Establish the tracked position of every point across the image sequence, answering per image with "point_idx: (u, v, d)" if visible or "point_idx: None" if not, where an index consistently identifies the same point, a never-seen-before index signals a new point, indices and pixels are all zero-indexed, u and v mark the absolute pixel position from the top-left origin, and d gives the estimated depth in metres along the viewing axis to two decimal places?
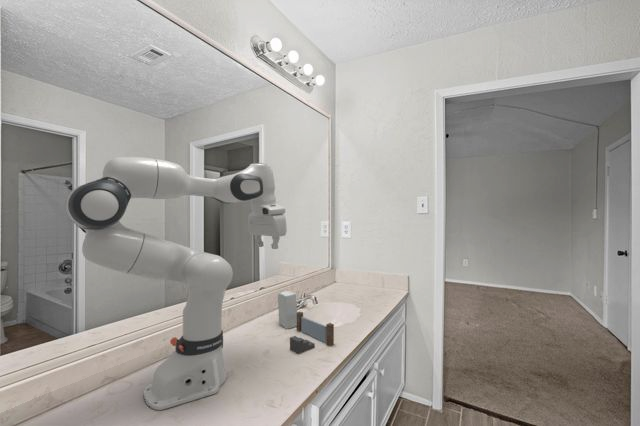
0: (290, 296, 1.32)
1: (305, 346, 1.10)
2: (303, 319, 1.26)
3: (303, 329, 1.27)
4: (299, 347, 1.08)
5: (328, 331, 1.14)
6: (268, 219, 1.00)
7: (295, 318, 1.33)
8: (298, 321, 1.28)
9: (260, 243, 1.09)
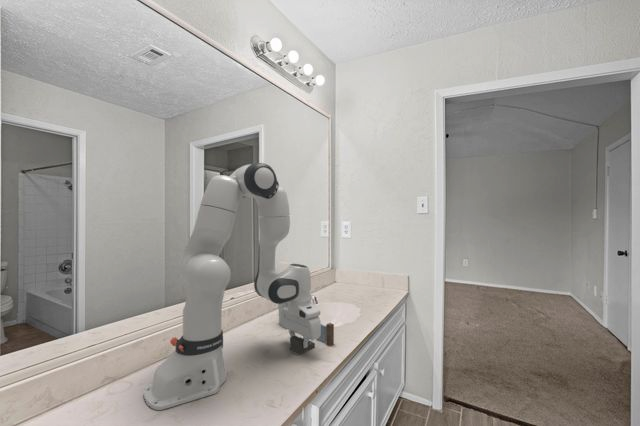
0: None
1: None
2: None
3: None
4: (299, 347, 1.08)
5: (328, 331, 1.14)
6: (304, 321, 1.06)
7: None
8: None
9: None
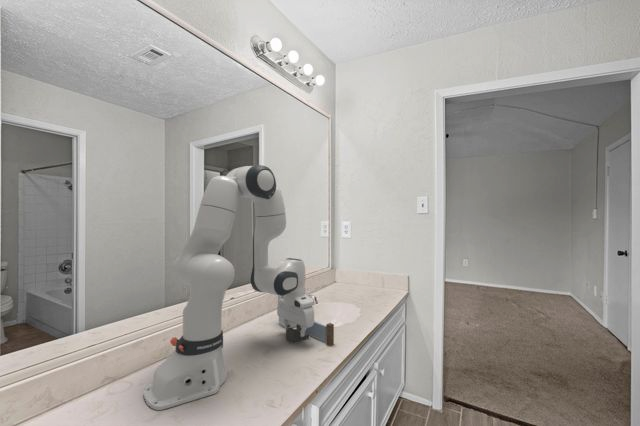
0: None
1: (300, 337, 1.18)
2: None
3: None
4: (294, 337, 1.16)
5: (328, 331, 1.14)
6: (298, 310, 1.14)
7: None
8: None
9: (287, 326, 1.22)
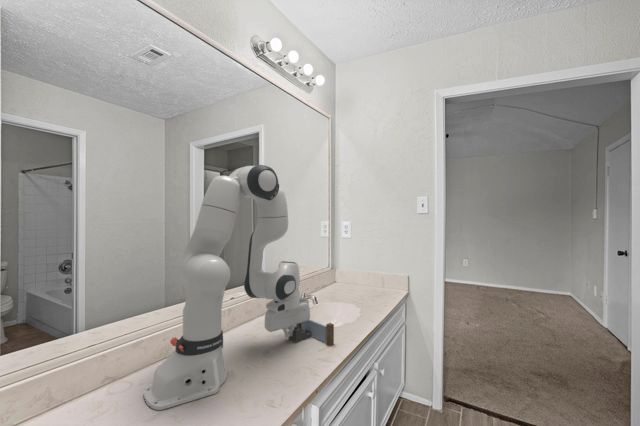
0: None
1: (303, 335, 1.19)
2: None
3: (303, 329, 1.27)
4: (297, 336, 1.17)
5: (328, 331, 1.14)
6: None
7: None
8: None
9: None
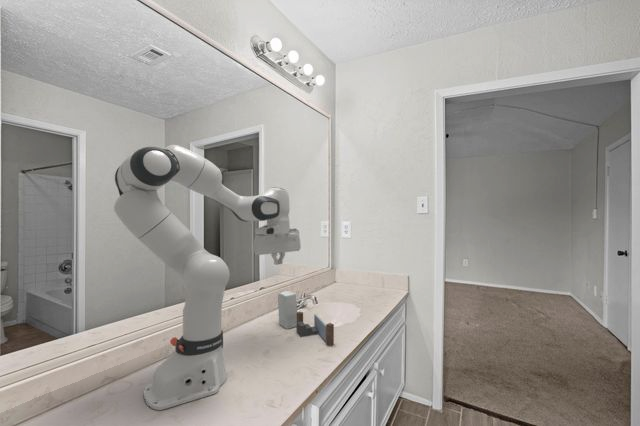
0: (290, 296, 1.32)
1: (308, 332, 1.24)
2: (315, 316, 1.30)
3: (315, 326, 1.30)
4: (301, 331, 1.23)
5: (328, 331, 1.14)
6: None
7: (295, 318, 1.33)
8: (298, 321, 1.28)
9: None
